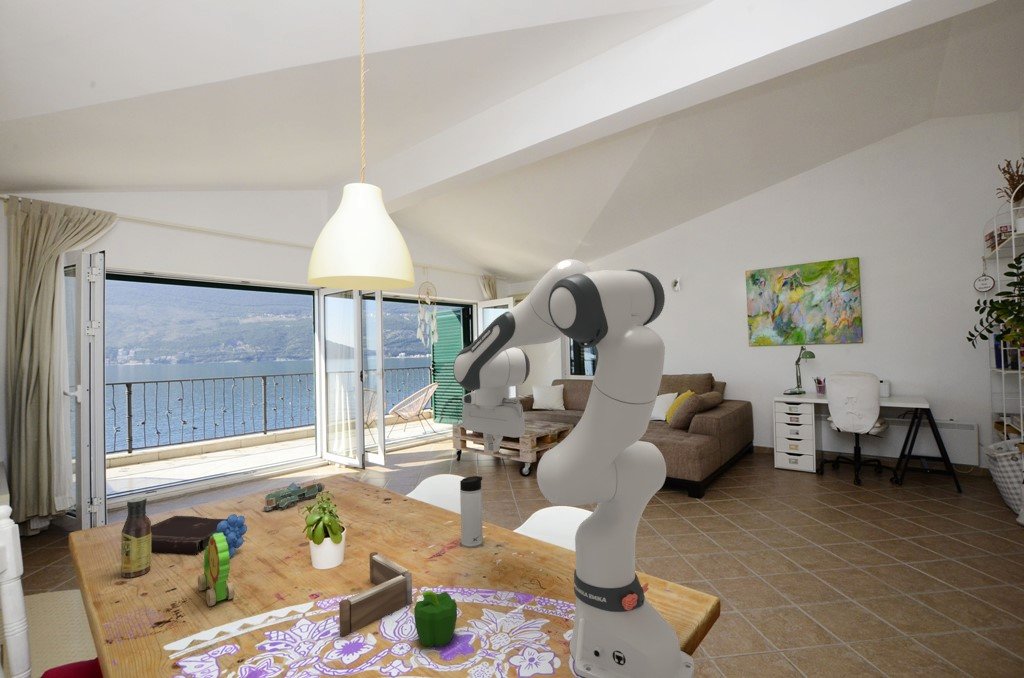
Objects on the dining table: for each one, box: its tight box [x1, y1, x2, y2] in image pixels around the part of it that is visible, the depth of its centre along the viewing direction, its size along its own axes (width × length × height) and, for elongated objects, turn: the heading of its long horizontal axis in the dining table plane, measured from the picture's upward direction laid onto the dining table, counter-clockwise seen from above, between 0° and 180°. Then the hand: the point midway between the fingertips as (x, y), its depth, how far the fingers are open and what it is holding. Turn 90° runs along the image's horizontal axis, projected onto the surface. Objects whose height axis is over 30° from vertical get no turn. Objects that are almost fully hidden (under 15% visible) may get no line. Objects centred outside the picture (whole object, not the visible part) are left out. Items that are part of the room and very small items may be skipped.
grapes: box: [214, 513, 248, 559], centre depth 133 cm, size 12×7×12 cm, turn 161°
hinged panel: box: [369, 551, 410, 586], centre depth 111 cm, size 2×15×7 cm, turn 46°
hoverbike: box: [263, 479, 326, 513], centre depth 181 cm, size 10×25×8 cm, turn 148°
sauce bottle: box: [120, 496, 152, 579], centre depth 125 cm, size 7×6×20 cm
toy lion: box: [197, 532, 235, 607], centre depth 112 cm, size 16×5×15 cm, turn 44°
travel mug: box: [459, 475, 484, 549], centre depth 137 cm, size 6×7×20 cm
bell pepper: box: [413, 590, 458, 648], centre depth 92 cm, size 8×8×10 cm
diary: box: [151, 515, 227, 556], centre depth 146 cm, size 19×25×5 cm
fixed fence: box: [338, 572, 413, 638], centre depth 100 cm, size 2×17×7 cm, turn 137°
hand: (493, 450), depth 121 cm, fingers closed
